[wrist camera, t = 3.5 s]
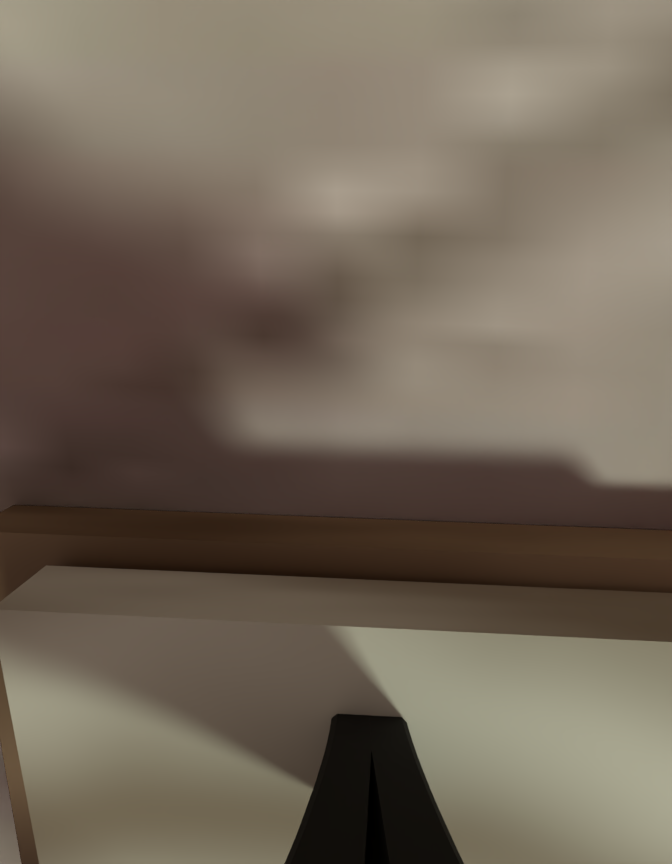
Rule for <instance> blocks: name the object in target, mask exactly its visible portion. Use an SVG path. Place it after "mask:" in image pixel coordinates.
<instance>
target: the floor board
mask: <svg viewBox="0 0 672 864" xmlns="http://www.w3.org/2000/svg"><path fill="white" fill-rule="evenodd" d="M46 565H47V566H70V567H92V568H115V569H137V570H160V571H183V572H205V573H228V574H251V575H273V576H296V577H319V578H341V579H364V580H386V581H409V582H432V583H454V584H477V585H500V586H522V587H545V588H568V589H590V590H613V591H635V592H658V593H672V530H646V529H620V528H594V527H569V526H543V525H517V524H491V523H465V522H440V521H414V520H388V519H362V518H336V517H311V516H285V515H259V514H233V513H207V512H182V511H156V510H130V509H104V508H78V507H53V506H27V505H14V506H12V507H10V508H8V509H6V510H4V511H2V512H0V602H1V601H2V600H3V599H4V598H6V597H7V596H8V595H9V594H11V593H12V592H13V591H14V590H16V589H17V588H18V587H19V586H21V585H22V584H23V583H25V582H26V581H27V580H28V579H30V578H31V577H32V576H33V575H35V574H36V573H37V572H38V571H40V570H41V569H42V568H44V567H45V566H46ZM0 742H1V748H2V753H3V759H4V765H5V771H6V776H7V782H8V788H9V794H10V799H11V805H12V811H13V817H14V822H15V828H16V834H17V840H18V845H19V851H20V857H21V863H22V864H39V860H38V855H37V850H36V844H35V839H34V834H33V829H32V823H31V818H30V813H29V808H28V802H27V797H26V792H25V787H24V781H23V776H22V771H21V766H20V760H19V755H18V750H17V744H16V739H15V734H14V729H13V723H12V718H11V713H10V708H9V702H8V697H7V692H6V687H5V681H4V676H3V671H2V665H1V660H0Z"/></svg>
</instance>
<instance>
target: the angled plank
mask: <svg viewBox="0 0 672 864" xmlns="http://www.w3.org/2000/svg"><path fill="white" fill-rule="evenodd" d="M0 660H1V665H2V671H3V676H4V681H5V687H6V692H7V697H8V702H9V708H10V713H11V718H12V723H13V729H14V734H15V739H16V744H17V750H18V755H19V760H20V766H21V771H22V776H23V781H24V787H25V792H26V797H27V802H28V808H29V813H30V818H31V823H32V829H33V834H34V839H35V844H36V850H37V855H38V860H39V864H284V863H285V861H286V859H287V856H288V854H289V851H290V849H291V847H292V844H293V842H294V840H295V837H296V835H297V832H298V829H299V827H300V824H301V821H302V818H303V816H304V813H305V810H306V807H307V805H308V802H309V799H310V796H311V793H312V791H313V788H314V785H315V782H316V779H317V776H318V772H319V769H320V766H321V763H322V759H323V756H324V752H325V748H326V744H327V740H328V735H329V731H330V725H331V718H332V717H334V716H335V715H336V714H353V715H371V716H391V717H402V718H403V719H404V720H405V721H406V722H407V725H408V729H409V732H410V735H411V738H412V741H413V744H414V747H415V750H416V753H417V756H418V758H419V761H420V764H421V767H422V769H423V772H424V774H425V777H426V779H427V782H428V784H429V787H430V789H431V792H432V794H433V796H434V799H435V801H436V803H437V806H438V808H439V810H440V813H441V815H442V817H443V819H444V821H445V824H446V826H447V828H448V830H449V832H450V835H451V837H452V839H453V841H454V843H455V846H456V848H457V850H458V852H459V854H460V856H461V858H462V860H463V862H464V864H672V593H658V592H635V591H613V590H590V589H568V588H545V587H522V586H500V585H477V584H454V583H432V582H409V581H386V580H364V579H341V578H319V577H296V576H273V575H251V574H228V573H205V572H183V571H160V570H137V569H115V568H92V567H70V566H47V565H46V566H45V567H44V568H42V569H41V570H40V571H38V572H37V573H36V574H35V575H33V576H32V577H31V578H30V579H28V580H27V581H26V582H25V583H23V584H22V585H21V586H19V587H18V588H17V589H16V590H14V591H13V592H12V593H11V594H9V595H8V596H7V597H6V598H4V599H3V600H2V601H1V602H0Z"/></svg>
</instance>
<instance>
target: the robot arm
mask: <svg viewBox="0 0 672 864" xmlns="http://www.w3.org/2000/svg"><path fill="white" fill-rule="evenodd" d="M284 864H464V862H463V860H462V858H461V856H460V854H459V852H458V850H457V848H456V846H455V843H454V841H453V839H452V837H451V835H450V832H449V830H448V828H447V826H446V824H445V821H444V819H443V817H442V815H441V813H440V810H439V808H438V806H437V803H436V801H435V799H434V796H433V794H432V792H431V789H430V787H429V784H428V782H427V779H426V777H425V774H424V772H423V769H422V767H421V764H420V761H419V758H418V756H417V753H416V750H415V747H414V744H413V741H412V738H411V735H410V732H409V729H408V725H407V722H406V721H405V720H404V719H403V718H402V717H391V716H371V715H353V714H336V715H335V716H334V717H332V718H331V725H330V731H329V735H328V740H327V744H326V748H325V752H324V756H323V759H322V763H321V766H320V769H319V772H318V776H317V779H316V782H315V785H314V788H313V791H312V793H311V796H310V799H309V802H308V805H307V807H306V810H305V813H304V816H303V818H302V821H301V824H300V827H299V829H298V832H297V835H296V837H295V840H294V842H293V844H292V847H291V849H290V851H289V854H288V856H287V859H286V861H285V863H284Z"/></svg>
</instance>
